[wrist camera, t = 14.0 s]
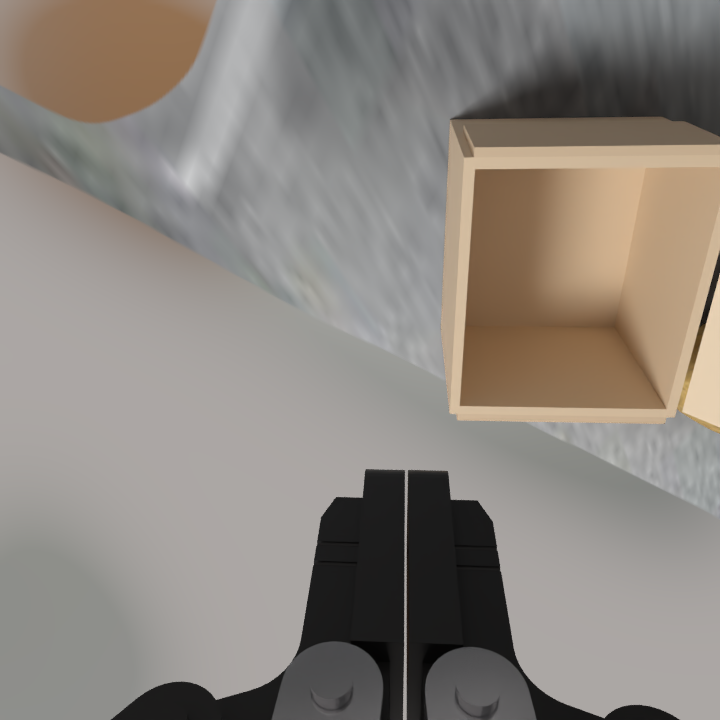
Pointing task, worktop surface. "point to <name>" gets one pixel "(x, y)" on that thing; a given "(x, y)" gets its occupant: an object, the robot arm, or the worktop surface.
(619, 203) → the carton
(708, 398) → the carton flap
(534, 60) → the worktop surface
